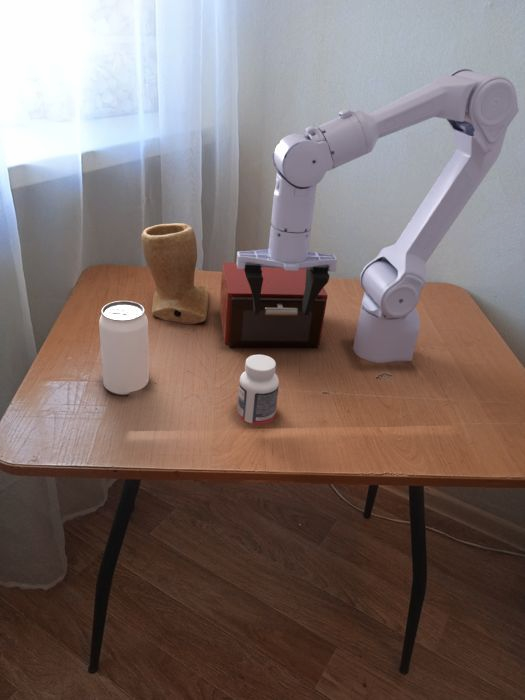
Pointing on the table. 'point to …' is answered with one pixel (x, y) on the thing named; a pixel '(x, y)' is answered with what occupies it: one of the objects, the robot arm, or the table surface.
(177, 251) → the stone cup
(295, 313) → the oven door
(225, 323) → the oven
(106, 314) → the can
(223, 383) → the table surface
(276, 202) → the robot arm
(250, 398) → the pill bottle
